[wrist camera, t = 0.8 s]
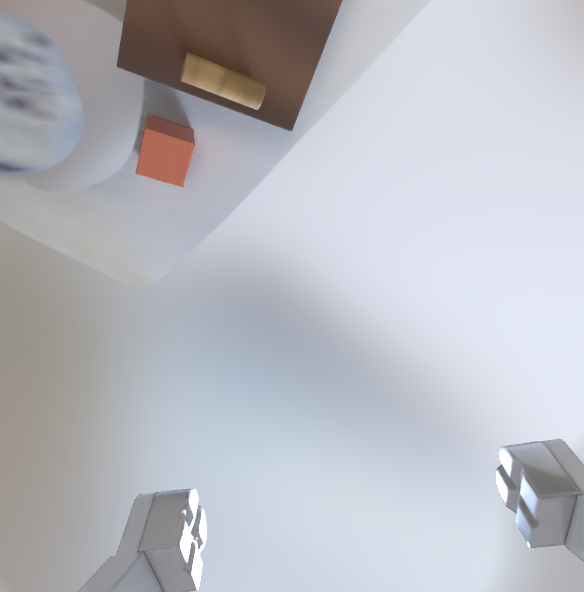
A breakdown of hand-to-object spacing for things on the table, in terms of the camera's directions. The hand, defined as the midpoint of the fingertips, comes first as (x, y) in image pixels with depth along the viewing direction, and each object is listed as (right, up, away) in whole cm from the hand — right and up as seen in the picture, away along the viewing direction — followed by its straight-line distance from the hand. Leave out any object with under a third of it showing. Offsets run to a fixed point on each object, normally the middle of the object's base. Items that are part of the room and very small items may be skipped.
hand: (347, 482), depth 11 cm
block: (-14, +21, +32) cm, 40 cm away
